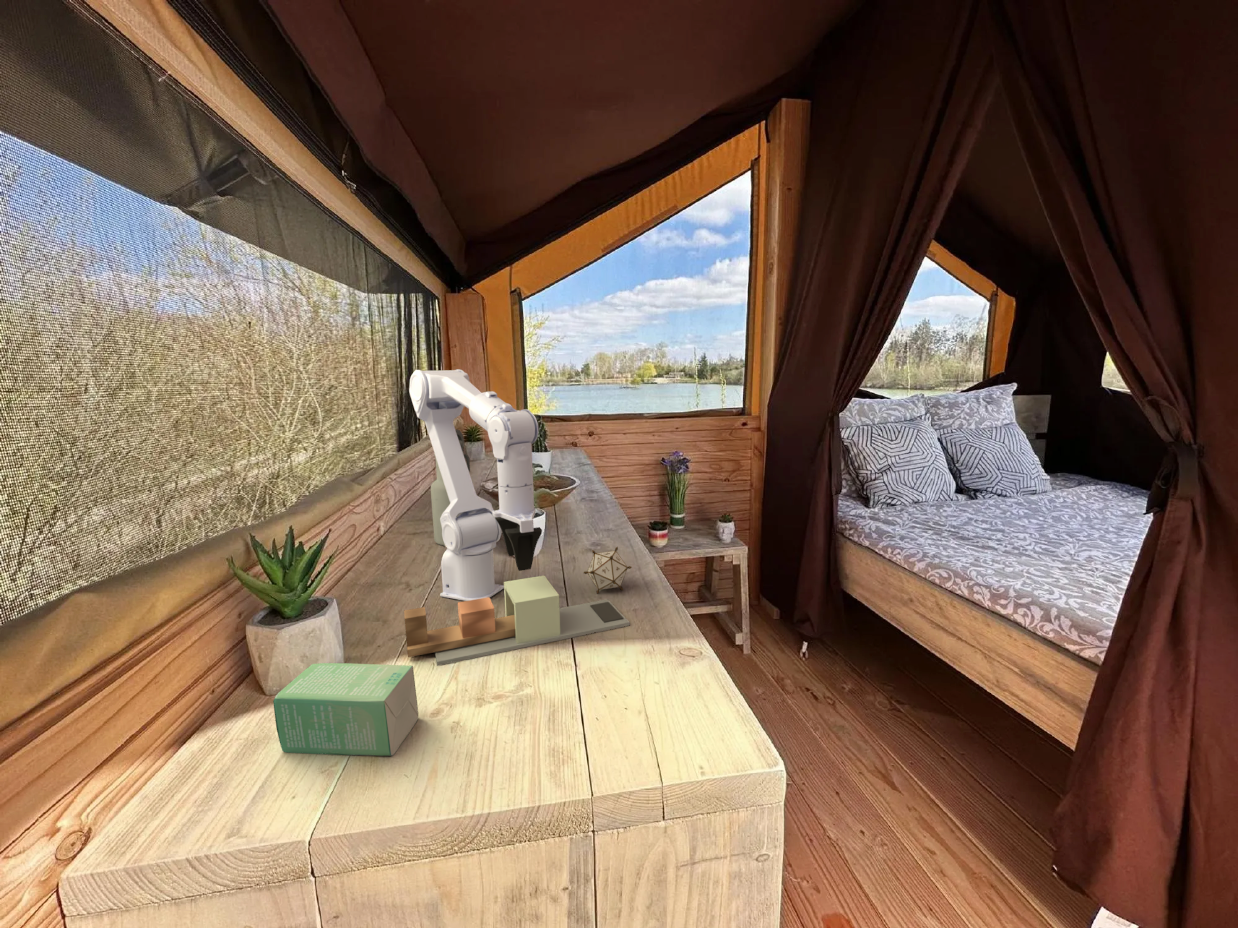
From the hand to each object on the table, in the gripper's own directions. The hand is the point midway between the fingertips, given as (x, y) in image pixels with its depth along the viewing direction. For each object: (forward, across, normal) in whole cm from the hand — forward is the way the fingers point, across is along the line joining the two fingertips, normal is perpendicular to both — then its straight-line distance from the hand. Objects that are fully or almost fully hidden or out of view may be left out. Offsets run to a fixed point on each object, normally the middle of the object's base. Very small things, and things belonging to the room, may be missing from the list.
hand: (519, 561), depth 93 cm
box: (+11, +22, -26) cm, 35 cm away
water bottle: (+10, -50, -6) cm, 51 cm away
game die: (+11, -6, +18) cm, 22 cm away
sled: (+10, +5, -8) cm, 14 cm away
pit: (+10, +5, +14) cm, 18 cm away
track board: (+10, +5, +1) cm, 11 cm away
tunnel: (+10, +5, +1) cm, 11 cm away
